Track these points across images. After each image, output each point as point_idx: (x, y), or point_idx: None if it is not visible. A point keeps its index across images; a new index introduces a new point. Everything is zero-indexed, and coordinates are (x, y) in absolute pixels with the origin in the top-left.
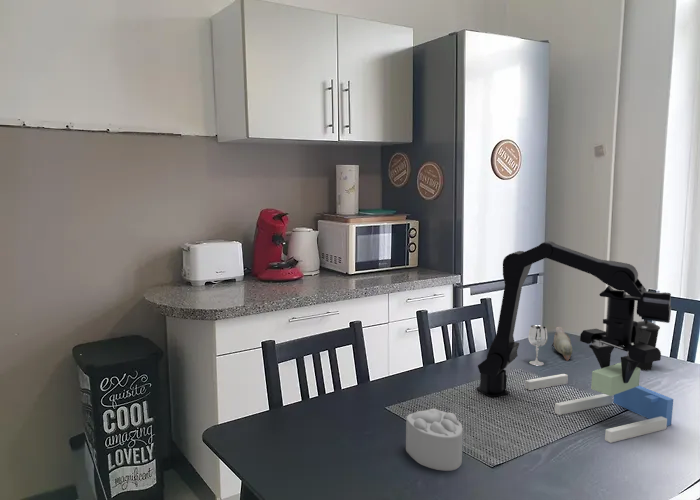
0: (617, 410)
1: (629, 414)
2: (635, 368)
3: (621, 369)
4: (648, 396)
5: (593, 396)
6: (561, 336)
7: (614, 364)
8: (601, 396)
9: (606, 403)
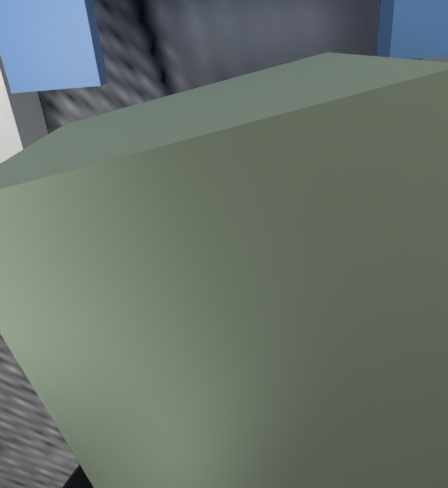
0: (132, 83)
1: (210, 52)
2: (408, 202)
3: (322, 471)
4: (416, 18)
5: None
6: None
7: (59, 423)
8: (14, 153)
9: (32, 94)
